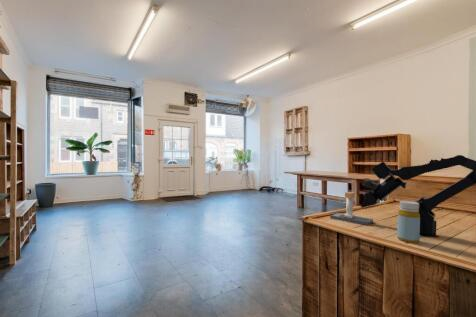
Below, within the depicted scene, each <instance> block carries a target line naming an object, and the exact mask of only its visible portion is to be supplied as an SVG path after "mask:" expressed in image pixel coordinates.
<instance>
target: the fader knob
mask: <svg viewBox="0 0 476 317" xmlns="http://www.w3.org/2000/svg"><path fill="white" fill-rule="evenodd" d="M355 193H356V192H354V191H347V192H344V198H346V201H345V202H346V204H345V205H346V210H345V213H343V214H344V217H348V218H353V217H355V216H356V215H355V214H354V213H353V212H354V211H353V206H354V205H353V204H354V198H355Z"/></svg>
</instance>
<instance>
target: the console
mask: <svg viewBox="0 0 476 317" xmlns="http://www.w3.org/2000/svg"><path fill="white" fill-rule="evenodd" d="M344 214H345V213H342V212H341V213H340V212H335V213H333V214H330V216H329V218H330V219H331V220H337V221H343V222H347V223H353V224H356V225H358V224H359V225H363V226H370V225H371V224H373V223H374V218H369V217H363V216H358V215H357V216H356V215H355V217H353V218H348V217H344Z"/></svg>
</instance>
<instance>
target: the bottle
mask: <svg viewBox="0 0 476 317" xmlns="http://www.w3.org/2000/svg"><path fill="white" fill-rule="evenodd" d="M396 230H397V235H396V236H397V239H398V241H401V242H405V243H408V244H418V243H419V242H420V236H421V235H420V214H419V203H417V202H415V201H411V200H410V201H409V200H400V201H399V211H398V213H397V229H396Z"/></svg>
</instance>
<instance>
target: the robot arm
mask: <svg viewBox="0 0 476 317" xmlns="http://www.w3.org/2000/svg"><path fill="white" fill-rule="evenodd" d="M456 166H461V167H463V168H466V169H468V170H471V171H470V172H469V173H467V175H465V176H464V177H463V178H461V179H459V180H457V181H456V182H454V183H453V184H450V185H449V186H447V187H445V188H444V189H443V190H440V191H439V192H437V193H436V194H434V195H431V196H429V197H426V196H425V195H423V196H421V197H420V198H419V199H417V200H415V201H414V202H417V203H419V214H420V236H422V237H431V238H432V237H435V238H440V237H439V234H437V220H435V218H436V217H437V216H436V213H434V211H433V210H434V209H435V208H436V207H437V206H439V205H441V204H442V203H444V202H445V201H447V200H449V199H451V198H452V197H454V196H456V195H458V194H460V193H461V192H464V190H467V189H469V188H470V187H472V186H475V185H476V160H475V159H472V158H470V157H469V158H468V157H465V156H464V155H462V154H457V155H455V156H453V157H452V156H451V157H447V158H444V159H441V160H440V159H439V160H436V161H432V162H428V163H425V164H419V165H410V166H402V167H400V168H399V169H391V167H389V166H388V164H387V163H386V162H385V161H381V162H380V163H378V164H377V165H375V166H374V167H372V168H371V169H370V171H371V172H372V173H373V174H374V175H375V176H376V177H377V179H379V180H382V179H383V180H384V181H382V182H381V183H377V182H374V181H373V180H371V179H368V178H365V179H364V180H363V182H362V186H363V187H365V188H368V189H370V191H365V193H363V196H364V197H365V199H364V201H363V202H362V203H361V204H360V207H361V208H366V207H370V206H375V205H377V204H379V203H380V201H381V202H383V201H384V200H386V198H387V197H388V196H389V195H391V194H392V193H393V192H394V191H396V190H397V189H398V188H400V187H402V188H403V189H406V188H407V183H408V182H407V180H411V179H414V178H416V177H419V176H421V175H423V174H426V173H431V172H436V171H440V170H443V169H448V168H452V167H456Z"/></svg>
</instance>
